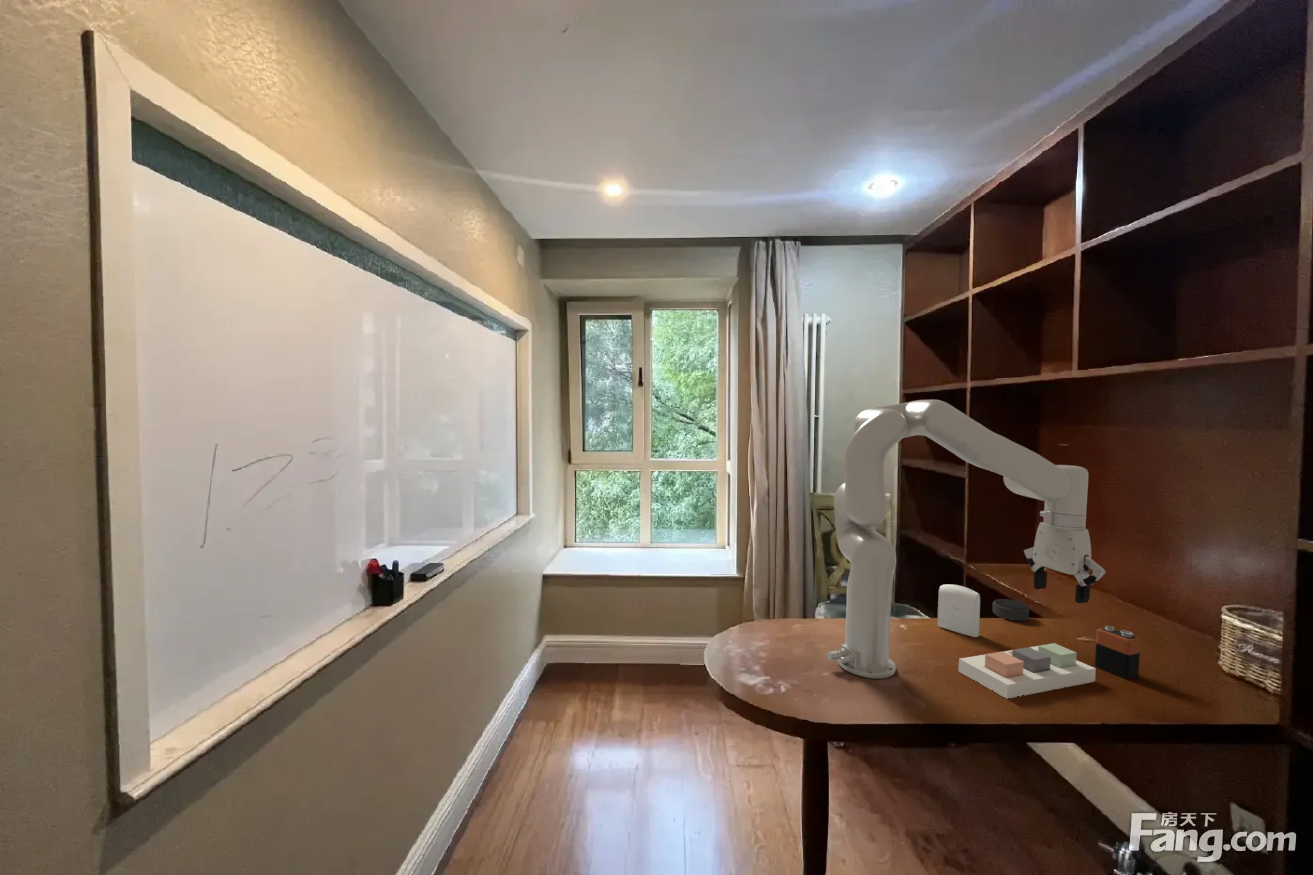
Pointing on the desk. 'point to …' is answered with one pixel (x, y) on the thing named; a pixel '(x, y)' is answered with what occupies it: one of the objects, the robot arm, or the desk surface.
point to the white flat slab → (1026, 677)
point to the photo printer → (959, 609)
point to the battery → (1117, 652)
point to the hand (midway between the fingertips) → (1060, 595)
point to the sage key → (1059, 655)
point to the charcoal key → (1032, 659)
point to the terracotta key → (1004, 664)
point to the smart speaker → (1010, 610)
